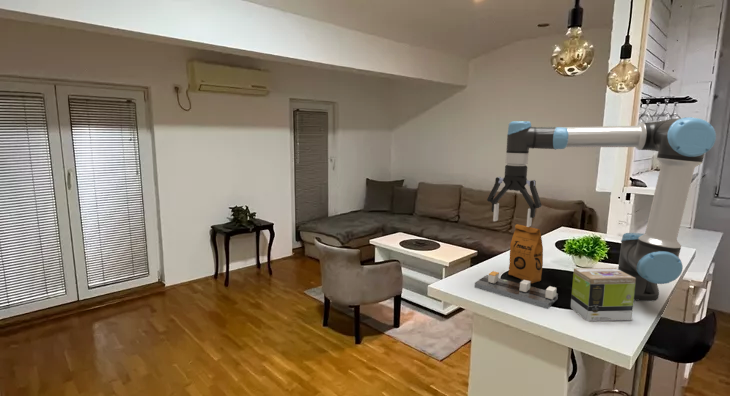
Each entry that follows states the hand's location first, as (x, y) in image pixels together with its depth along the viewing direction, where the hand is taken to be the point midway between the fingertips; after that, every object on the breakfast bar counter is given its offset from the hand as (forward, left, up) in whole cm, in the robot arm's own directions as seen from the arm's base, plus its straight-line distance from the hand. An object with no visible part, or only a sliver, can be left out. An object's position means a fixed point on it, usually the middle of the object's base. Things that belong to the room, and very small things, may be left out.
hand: (511, 223), depth 143 cm
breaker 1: (+5, 0, -24) cm, 25 cm away
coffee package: (-1, -18, -27) cm, 32 cm away
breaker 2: (-7, 0, -24) cm, 25 cm away
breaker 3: (-16, 0, -24) cm, 29 cm away
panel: (-3, 0, -26) cm, 26 cm away
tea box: (-31, -2, -27) cm, 41 cm away
